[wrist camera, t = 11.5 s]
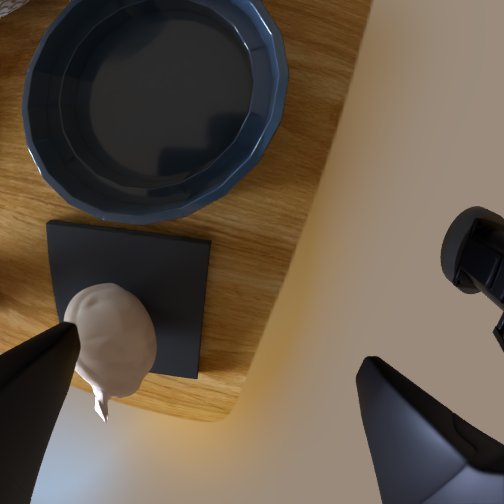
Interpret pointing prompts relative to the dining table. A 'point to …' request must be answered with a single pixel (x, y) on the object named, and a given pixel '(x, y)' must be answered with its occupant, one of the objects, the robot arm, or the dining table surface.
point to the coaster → (138, 281)
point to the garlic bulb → (112, 341)
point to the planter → (10, 6)
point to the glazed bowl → (153, 103)
